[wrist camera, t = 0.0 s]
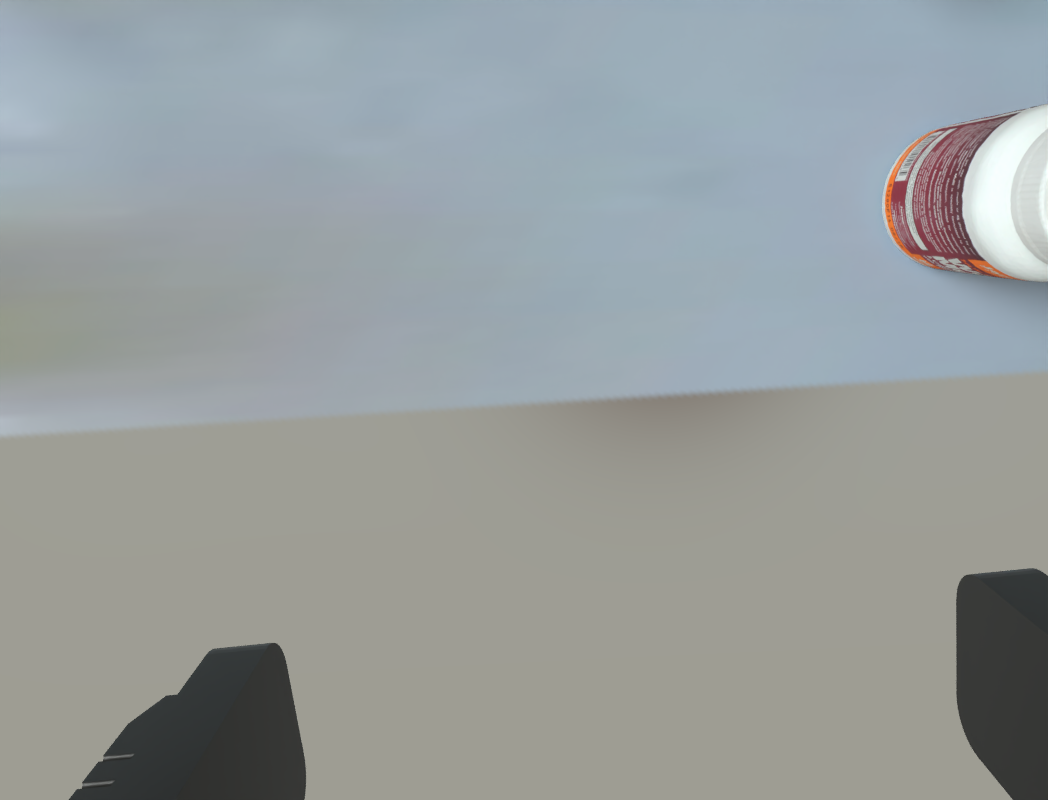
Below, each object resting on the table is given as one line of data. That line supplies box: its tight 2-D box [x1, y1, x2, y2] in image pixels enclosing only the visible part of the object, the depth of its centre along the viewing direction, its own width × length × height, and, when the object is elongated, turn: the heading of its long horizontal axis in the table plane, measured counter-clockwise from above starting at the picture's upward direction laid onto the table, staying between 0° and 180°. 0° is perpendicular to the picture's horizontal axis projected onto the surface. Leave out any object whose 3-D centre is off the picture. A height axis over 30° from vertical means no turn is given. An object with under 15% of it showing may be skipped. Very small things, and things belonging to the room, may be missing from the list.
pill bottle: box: [882, 104, 1048, 282], centre depth 32 cm, size 6×6×11 cm
